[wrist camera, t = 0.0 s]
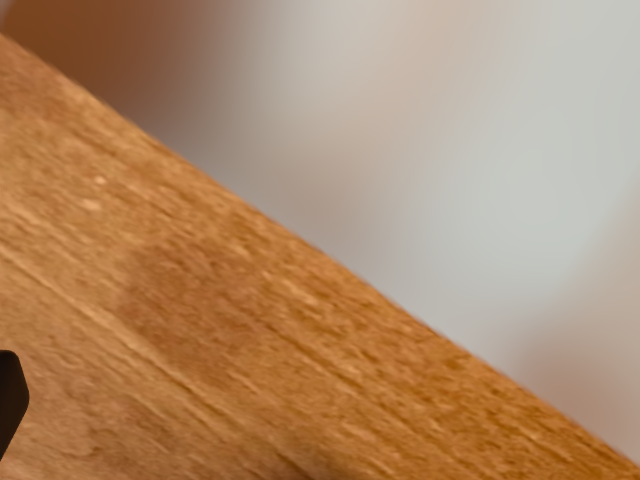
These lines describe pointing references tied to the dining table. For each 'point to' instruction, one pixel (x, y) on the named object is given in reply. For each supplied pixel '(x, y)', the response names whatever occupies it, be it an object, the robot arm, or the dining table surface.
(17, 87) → the dining table surface
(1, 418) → the robot arm
